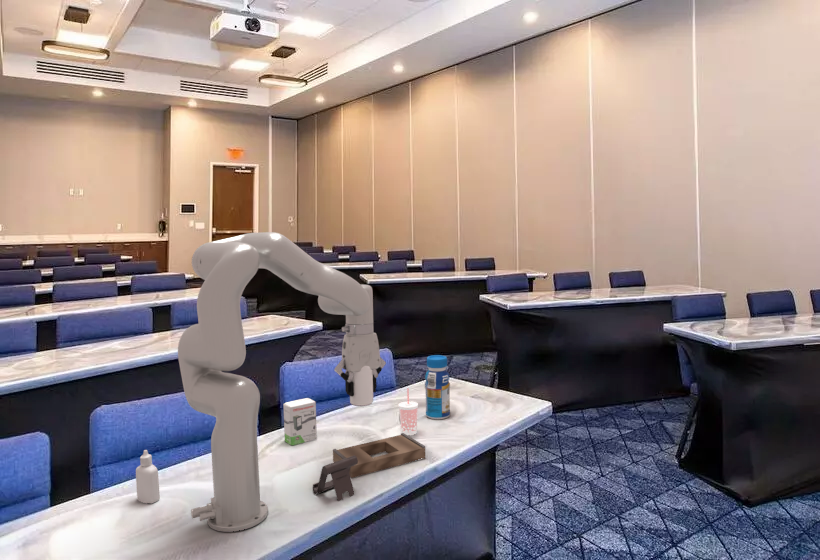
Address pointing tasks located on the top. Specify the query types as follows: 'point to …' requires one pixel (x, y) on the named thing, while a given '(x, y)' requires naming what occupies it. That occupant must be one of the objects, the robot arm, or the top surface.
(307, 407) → the ink box
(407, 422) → the beverage cup
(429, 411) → the beverage bottle
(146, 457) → the eye dropper bottle
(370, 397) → the can
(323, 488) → the portable electronic device stand
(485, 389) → the top surface
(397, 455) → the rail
